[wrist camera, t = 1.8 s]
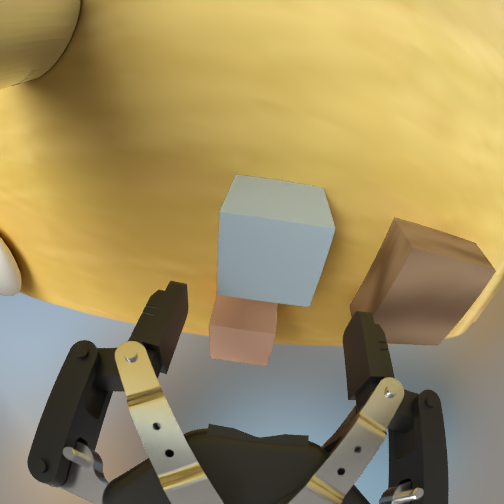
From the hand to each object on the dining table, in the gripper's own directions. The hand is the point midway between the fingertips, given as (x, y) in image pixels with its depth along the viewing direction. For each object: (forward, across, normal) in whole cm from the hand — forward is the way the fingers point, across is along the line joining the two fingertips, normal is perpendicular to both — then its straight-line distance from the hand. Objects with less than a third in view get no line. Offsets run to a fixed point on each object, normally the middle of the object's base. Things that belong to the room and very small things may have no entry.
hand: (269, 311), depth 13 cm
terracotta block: (+8, +1, +7) cm, 11 cm away
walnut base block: (+8, -12, +2) cm, 15 cm away
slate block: (+8, 0, -1) cm, 8 cm away
